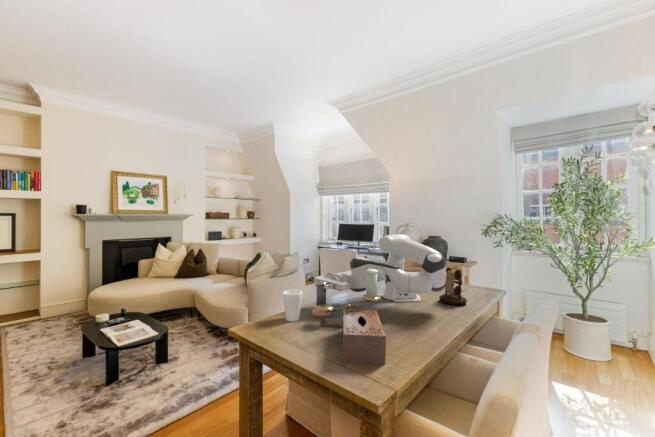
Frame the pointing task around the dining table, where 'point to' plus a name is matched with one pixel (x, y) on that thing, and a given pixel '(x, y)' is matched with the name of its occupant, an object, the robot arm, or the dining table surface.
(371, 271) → the light tin
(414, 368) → the dining table surface
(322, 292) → the tin
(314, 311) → the dish
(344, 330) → the tissue box cover
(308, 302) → the dining table surface
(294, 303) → the foam cup
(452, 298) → the brown wooden figurine
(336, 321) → the balance
